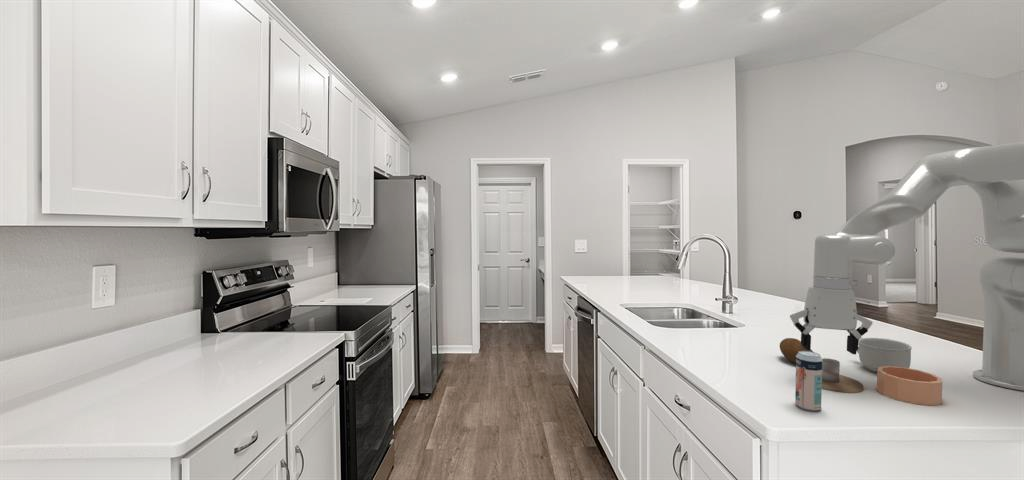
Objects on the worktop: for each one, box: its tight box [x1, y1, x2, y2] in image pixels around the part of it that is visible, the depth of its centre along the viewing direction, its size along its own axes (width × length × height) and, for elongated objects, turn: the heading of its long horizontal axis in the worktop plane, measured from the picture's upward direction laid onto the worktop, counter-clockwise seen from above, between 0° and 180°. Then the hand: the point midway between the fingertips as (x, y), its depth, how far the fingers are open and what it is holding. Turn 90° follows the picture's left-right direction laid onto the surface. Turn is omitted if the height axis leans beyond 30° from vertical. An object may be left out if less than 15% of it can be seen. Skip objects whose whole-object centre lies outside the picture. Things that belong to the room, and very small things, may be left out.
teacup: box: [856, 337, 912, 374], centre depth 113 cm, size 14×11×8 cm
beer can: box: [794, 351, 824, 412], centre depth 90 cm, size 5×5×12 cm
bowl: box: [876, 366, 943, 407], centre depth 96 cm, size 11×11×5 cm
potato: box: [779, 337, 814, 365], centre depth 119 cm, size 7×12×7 cm, turn 8°
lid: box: [822, 357, 865, 394], centre depth 104 cm, size 13×13×6 cm
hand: (828, 350), depth 104 cm, fingers open, 9 cm apart
